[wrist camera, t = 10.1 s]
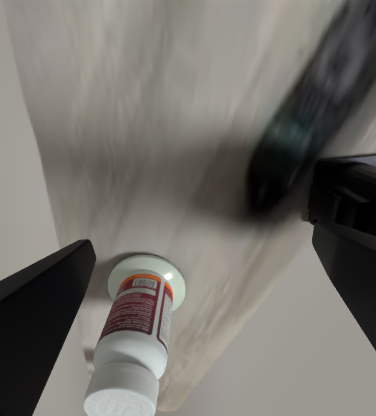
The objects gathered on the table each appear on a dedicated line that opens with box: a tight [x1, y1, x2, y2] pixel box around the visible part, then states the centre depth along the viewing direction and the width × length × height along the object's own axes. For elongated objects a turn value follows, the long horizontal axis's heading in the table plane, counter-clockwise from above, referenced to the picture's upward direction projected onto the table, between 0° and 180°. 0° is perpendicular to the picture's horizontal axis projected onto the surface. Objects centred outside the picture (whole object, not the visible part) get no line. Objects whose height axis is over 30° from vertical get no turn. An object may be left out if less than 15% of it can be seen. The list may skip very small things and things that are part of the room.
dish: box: [108, 255, 186, 312], centre depth 27 cm, size 9×9×1 cm
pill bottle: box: [83, 271, 173, 416], centre depth 21 cm, size 6×6×11 cm
